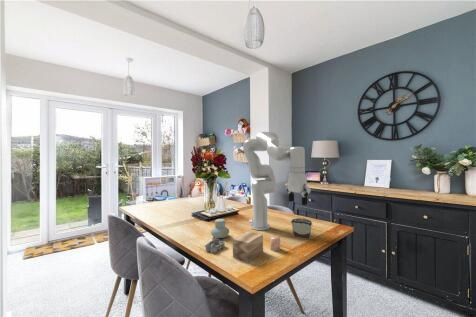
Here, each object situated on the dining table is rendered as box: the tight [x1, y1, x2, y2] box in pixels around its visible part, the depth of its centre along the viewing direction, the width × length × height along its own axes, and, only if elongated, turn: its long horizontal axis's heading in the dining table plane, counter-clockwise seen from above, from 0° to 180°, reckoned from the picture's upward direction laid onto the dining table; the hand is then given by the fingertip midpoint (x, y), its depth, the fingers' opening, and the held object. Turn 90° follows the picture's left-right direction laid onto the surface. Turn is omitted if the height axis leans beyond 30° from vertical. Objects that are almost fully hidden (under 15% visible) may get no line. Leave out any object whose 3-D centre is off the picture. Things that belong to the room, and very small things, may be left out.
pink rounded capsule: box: [269, 235, 281, 252], centre depth 115 cm, size 5×5×6 cm
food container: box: [290, 217, 313, 240], centre depth 132 cm, size 12×6×10 cm, turn 59°
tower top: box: [232, 230, 264, 253], centre depth 110 cm, size 9×13×4 cm
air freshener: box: [210, 218, 230, 239], centre depth 134 cm, size 11×8×10 cm
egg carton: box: [204, 237, 226, 254], centre depth 117 cm, size 11×8×4 cm
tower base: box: [232, 243, 264, 263], centre depth 110 cm, size 9×13×4 cm
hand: (297, 203), depth 118 cm, fingers open, 9 cm apart
